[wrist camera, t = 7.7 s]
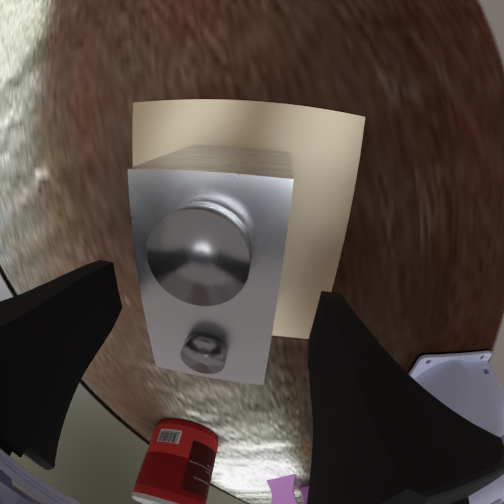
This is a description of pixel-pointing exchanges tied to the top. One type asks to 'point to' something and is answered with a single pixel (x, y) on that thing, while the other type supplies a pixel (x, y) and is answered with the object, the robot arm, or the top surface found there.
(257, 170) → the housing
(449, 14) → the top surface
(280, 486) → the toy chair
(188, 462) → the canned food
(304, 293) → the stand
